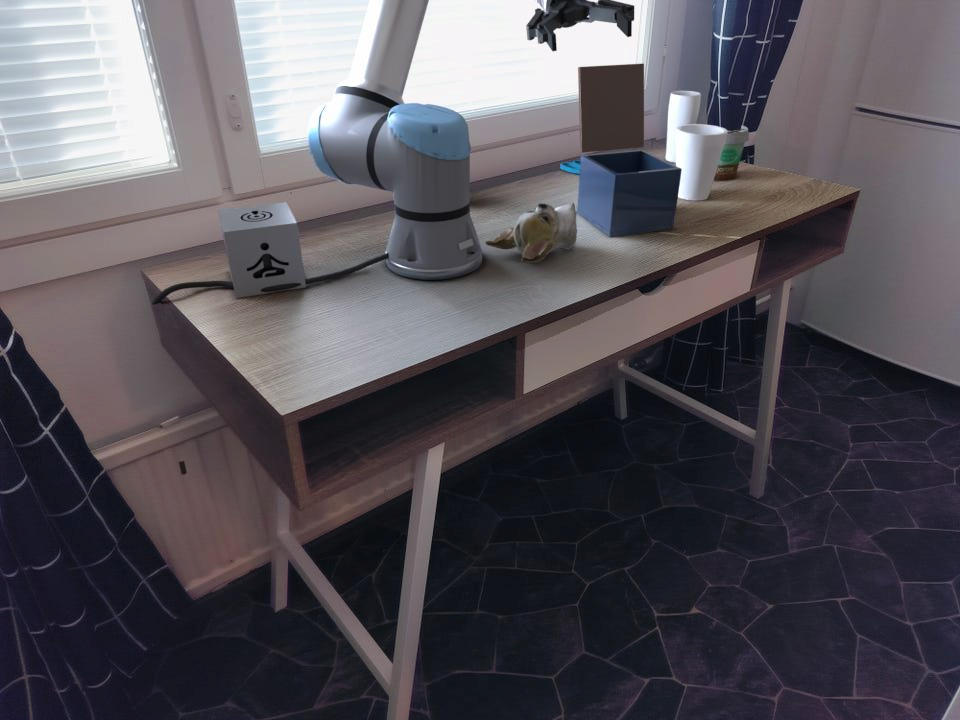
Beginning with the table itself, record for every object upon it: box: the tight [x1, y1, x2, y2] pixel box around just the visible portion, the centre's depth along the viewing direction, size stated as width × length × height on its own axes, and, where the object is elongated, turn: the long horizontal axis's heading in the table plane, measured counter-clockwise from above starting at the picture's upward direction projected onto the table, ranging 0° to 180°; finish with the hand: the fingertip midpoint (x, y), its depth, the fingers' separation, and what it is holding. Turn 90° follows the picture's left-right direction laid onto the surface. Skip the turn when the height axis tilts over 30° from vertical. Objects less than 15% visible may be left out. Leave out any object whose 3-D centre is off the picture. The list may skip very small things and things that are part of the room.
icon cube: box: [217, 201, 307, 299], centre depth 106 cm, size 10×10×10 cm
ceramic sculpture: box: [484, 201, 578, 264], centre depth 115 cm, size 11×9×15 cm
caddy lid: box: [577, 62, 645, 153], centre depth 128 cm, size 14×13×1 cm
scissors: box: [559, 159, 581, 175], centre depth 155 cm, size 7×1×20 cm
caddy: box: [576, 149, 682, 238], centre depth 128 cm, size 14×13×11 cm
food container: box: [713, 124, 750, 181], centre depth 152 cm, size 12×6×10 cm, turn 111°
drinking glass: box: [665, 90, 702, 164], centre depth 162 cm, size 7×7×15 cm
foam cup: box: [675, 123, 728, 202], centre depth 140 cm, size 10×9×13 cm
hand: (592, 36), depth 125 cm, fingers open, 13 cm apart
